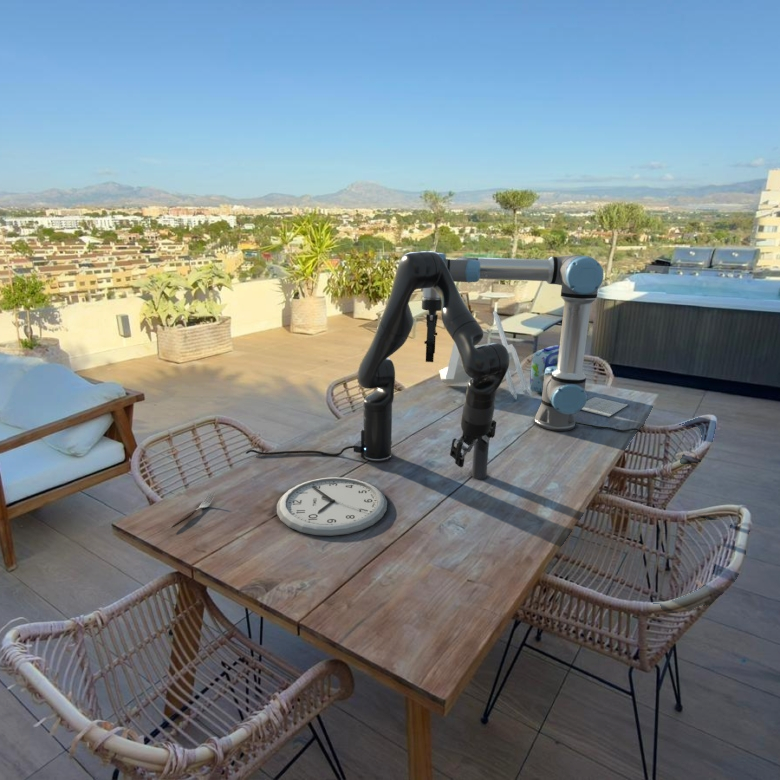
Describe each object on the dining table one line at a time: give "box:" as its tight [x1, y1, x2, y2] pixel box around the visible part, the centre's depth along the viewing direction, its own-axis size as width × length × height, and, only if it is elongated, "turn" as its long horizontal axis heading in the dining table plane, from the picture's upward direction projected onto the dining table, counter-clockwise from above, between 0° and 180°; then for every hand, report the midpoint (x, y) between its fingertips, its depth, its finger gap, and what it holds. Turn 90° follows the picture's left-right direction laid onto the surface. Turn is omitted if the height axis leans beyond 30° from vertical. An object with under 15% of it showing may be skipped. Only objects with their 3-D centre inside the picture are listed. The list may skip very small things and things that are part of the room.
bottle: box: [471, 441, 490, 480], centre depth 158 cm, size 4×4×20 cm
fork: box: [171, 493, 217, 529], centre depth 137 cm, size 3×16×2 cm, turn 160°
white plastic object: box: [438, 310, 531, 400], centre depth 245 cm, size 37×45×31 cm
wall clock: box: [276, 476, 388, 537], centre depth 142 cm, size 30×2×30 cm
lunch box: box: [529, 345, 560, 394], centre depth 245 cm, size 26×11×21 cm, turn 134°
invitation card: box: [580, 396, 629, 418], centre depth 226 cm, size 21×1×15 cm
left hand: (470, 457), depth 140 cm, fingers open, 8 cm apart
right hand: (430, 357), depth 190 cm, fingers open, 13 cm apart
